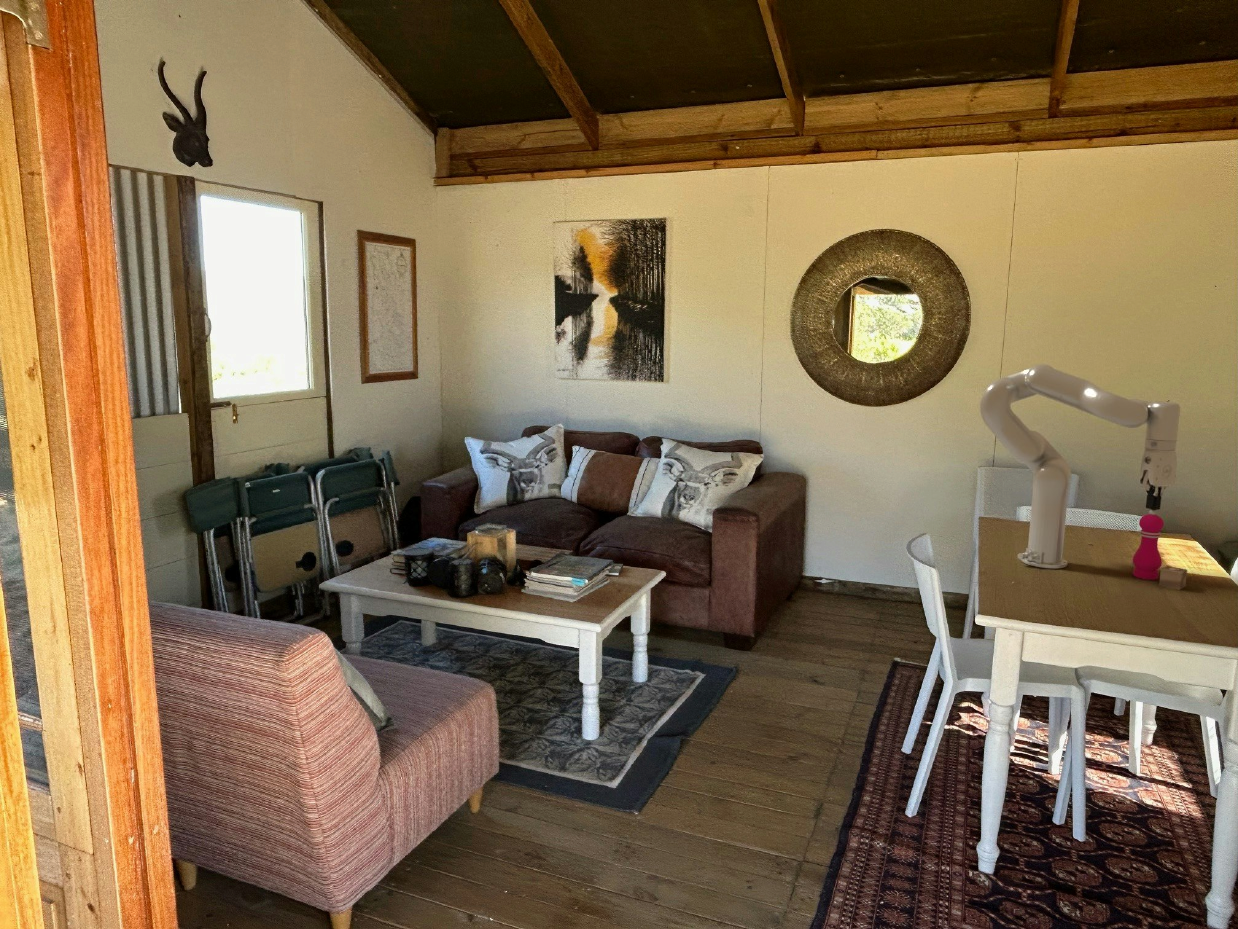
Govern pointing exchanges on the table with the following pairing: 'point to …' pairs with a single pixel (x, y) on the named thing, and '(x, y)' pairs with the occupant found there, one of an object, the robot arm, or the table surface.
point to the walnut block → (1173, 577)
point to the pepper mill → (1148, 547)
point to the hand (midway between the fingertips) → (1152, 508)
